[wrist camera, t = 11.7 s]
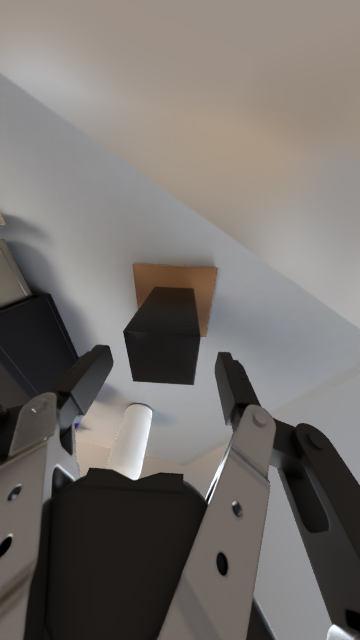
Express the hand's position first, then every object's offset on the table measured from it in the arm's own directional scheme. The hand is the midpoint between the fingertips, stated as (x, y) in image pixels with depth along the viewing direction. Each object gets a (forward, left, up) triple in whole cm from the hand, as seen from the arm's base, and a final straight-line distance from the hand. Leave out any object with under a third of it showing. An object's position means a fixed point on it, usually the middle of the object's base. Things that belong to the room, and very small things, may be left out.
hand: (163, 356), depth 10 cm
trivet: (0, 0, -11) cm, 11 cm away
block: (0, 0, -10) cm, 10 cm away
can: (+29, -8, -11) cm, 32 cm away
